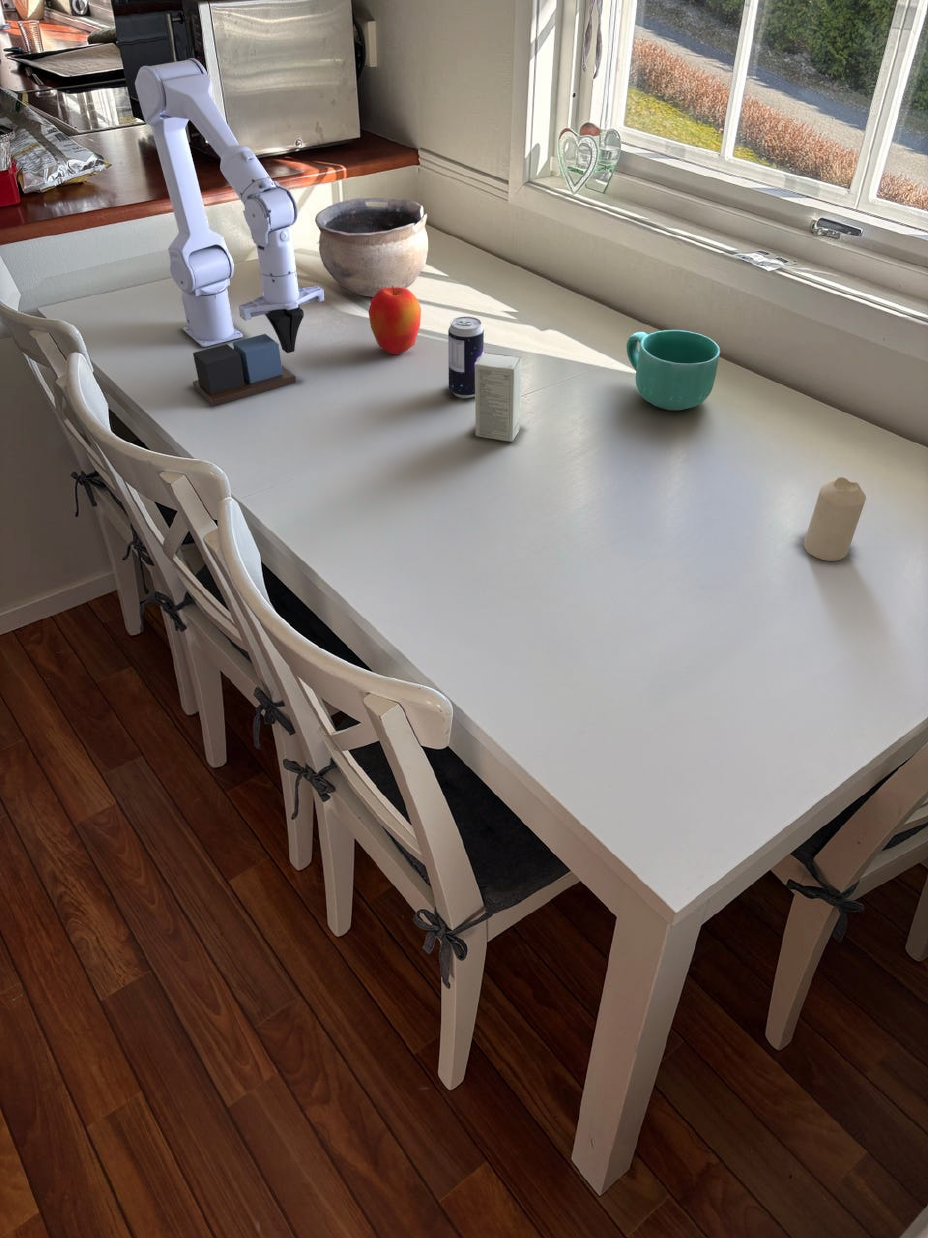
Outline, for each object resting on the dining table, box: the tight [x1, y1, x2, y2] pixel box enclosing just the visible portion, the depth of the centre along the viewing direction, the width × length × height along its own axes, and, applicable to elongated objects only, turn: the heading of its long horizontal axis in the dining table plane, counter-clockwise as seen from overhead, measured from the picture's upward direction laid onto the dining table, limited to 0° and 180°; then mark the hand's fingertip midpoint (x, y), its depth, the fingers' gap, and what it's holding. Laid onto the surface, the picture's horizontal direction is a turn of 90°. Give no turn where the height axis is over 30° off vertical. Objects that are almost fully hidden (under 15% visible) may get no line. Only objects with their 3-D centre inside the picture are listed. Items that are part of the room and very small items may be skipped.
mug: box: [625, 329, 721, 412], centre depth 150 cm, size 17×13×10 cm
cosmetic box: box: [474, 351, 522, 443], centre depth 140 cm, size 6×4×12 cm
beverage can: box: [447, 316, 485, 399], centre depth 150 cm, size 6×6×12 cm
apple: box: [368, 286, 422, 355], centre depth 162 cm, size 9×9×12 cm
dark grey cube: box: [192, 343, 245, 395], centre depth 151 cm, size 5×6×6 cm
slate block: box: [232, 333, 283, 384], centre depth 154 cm, size 6×5×6 cm
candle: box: [803, 476, 867, 562], centre depth 118 cm, size 6×6×10 cm
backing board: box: [192, 364, 297, 407], centre depth 155 cm, size 8×15×1 cm, turn 125°
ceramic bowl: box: [314, 197, 429, 298], centre depth 183 cm, size 22×22×15 cm
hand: (288, 350), depth 157 cm, fingers closed
